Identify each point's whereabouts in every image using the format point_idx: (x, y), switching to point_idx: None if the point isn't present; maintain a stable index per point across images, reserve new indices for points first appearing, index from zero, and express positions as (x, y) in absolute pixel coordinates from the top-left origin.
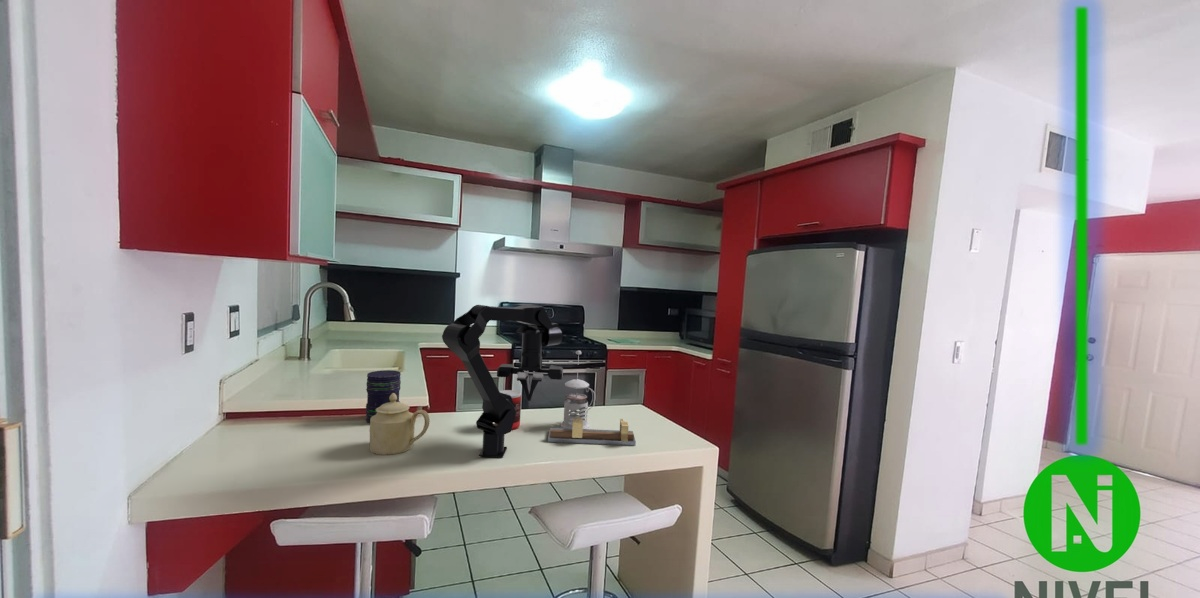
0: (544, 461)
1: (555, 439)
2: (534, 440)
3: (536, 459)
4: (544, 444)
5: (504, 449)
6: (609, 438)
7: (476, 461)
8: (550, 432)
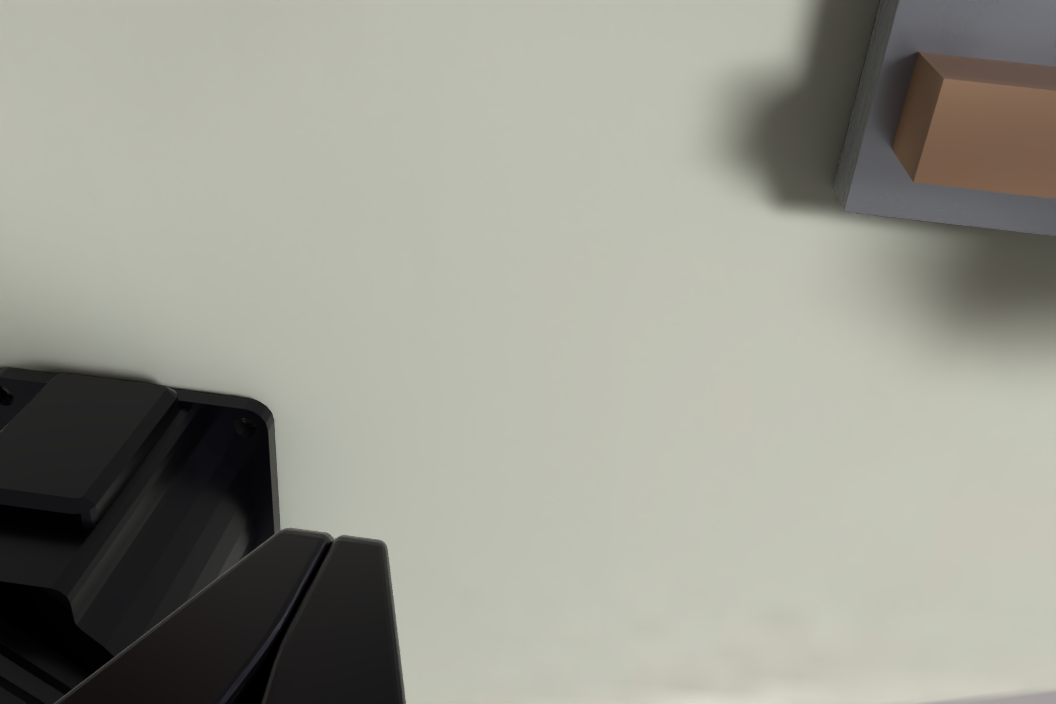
0: (720, 694)
1: (969, 218)
2: (622, 112)
3: (638, 652)
4: (770, 271)
5: (253, 484)
6: None
7: None
8: (915, 172)
